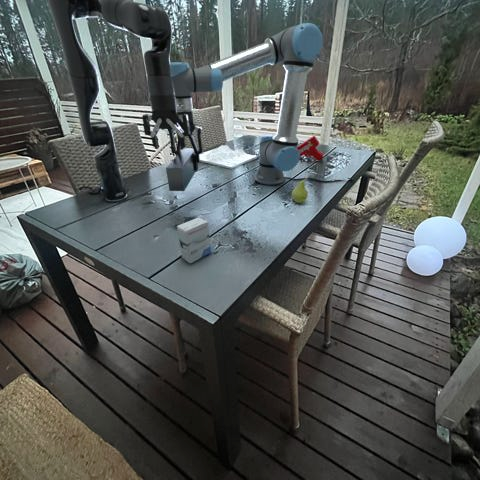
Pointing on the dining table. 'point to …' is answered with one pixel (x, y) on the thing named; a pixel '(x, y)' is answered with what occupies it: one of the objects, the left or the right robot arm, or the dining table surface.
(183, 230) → the ink box
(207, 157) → the relief map
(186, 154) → the bar
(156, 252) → the dining table surface
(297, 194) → the fruit
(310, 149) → the toy gun
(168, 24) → the left robot arm
